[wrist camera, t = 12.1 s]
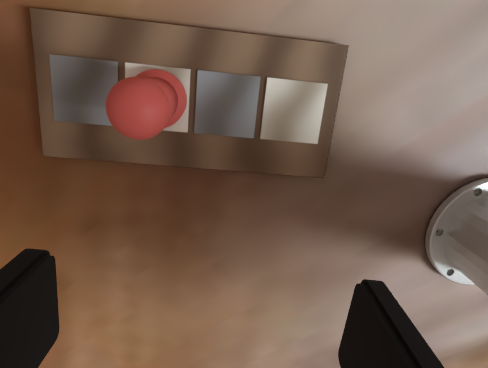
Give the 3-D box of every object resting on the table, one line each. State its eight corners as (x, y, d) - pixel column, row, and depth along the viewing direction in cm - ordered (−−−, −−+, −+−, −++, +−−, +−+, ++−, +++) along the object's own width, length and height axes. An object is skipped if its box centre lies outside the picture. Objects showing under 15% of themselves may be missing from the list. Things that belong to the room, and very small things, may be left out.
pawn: (188, 72, 29) (173, 74, 20) (185, 128, 30) (171, 155, 21) (130, 66, 28) (87, 65, 19) (130, 123, 30) (91, 148, 21)
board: (343, 46, 30) (349, 45, 29) (320, 174, 34) (324, 178, 33) (37, 10, 28) (28, 7, 26) (49, 152, 31) (42, 156, 30)
